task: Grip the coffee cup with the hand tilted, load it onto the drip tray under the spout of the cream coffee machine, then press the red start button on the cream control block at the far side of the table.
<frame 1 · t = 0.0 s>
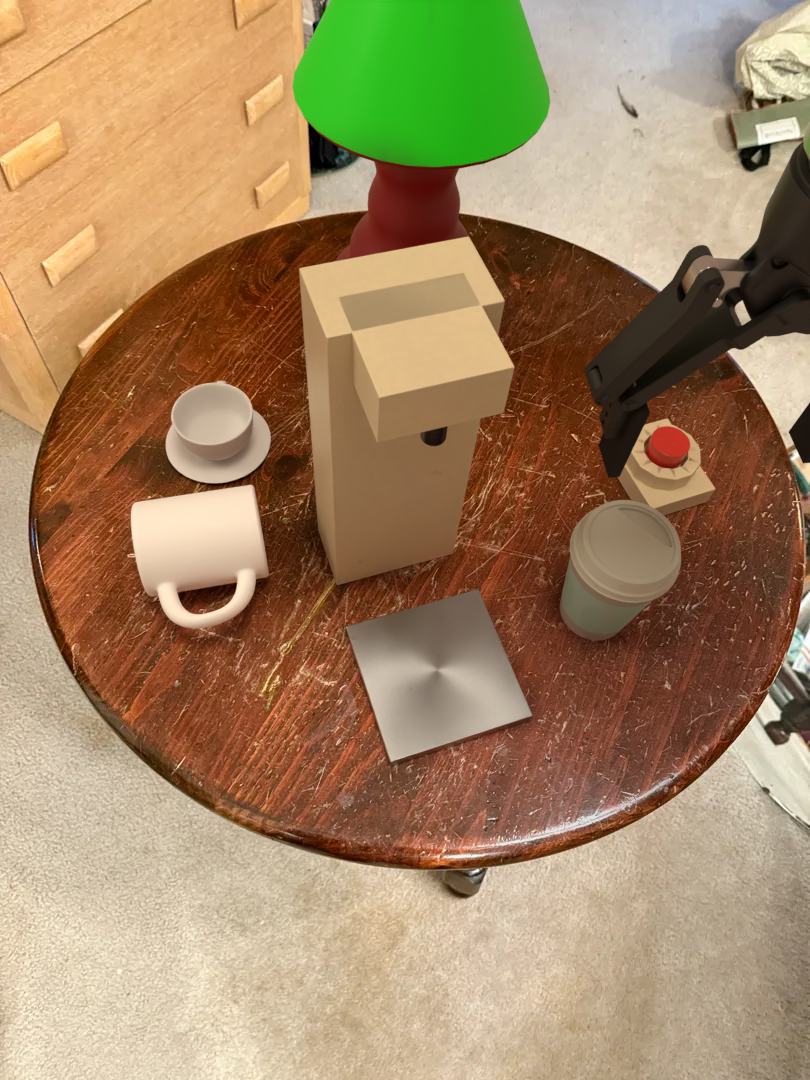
hand: (705, 454, 55), 21 cm above the table, tool pointing down, fingers open, 13 cm apart
brew button: (667, 447, 76), point 4 cm above the table, slide at 0.1 cm
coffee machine: (435, 675, 68), on the table
mug: (212, 584, 71), on the table
table lamp: (403, 353, 87), on the table
coffee cup: (591, 611, 72), on the table
teacup: (219, 444, 79), on the table
control block: (652, 475, 80), on the table
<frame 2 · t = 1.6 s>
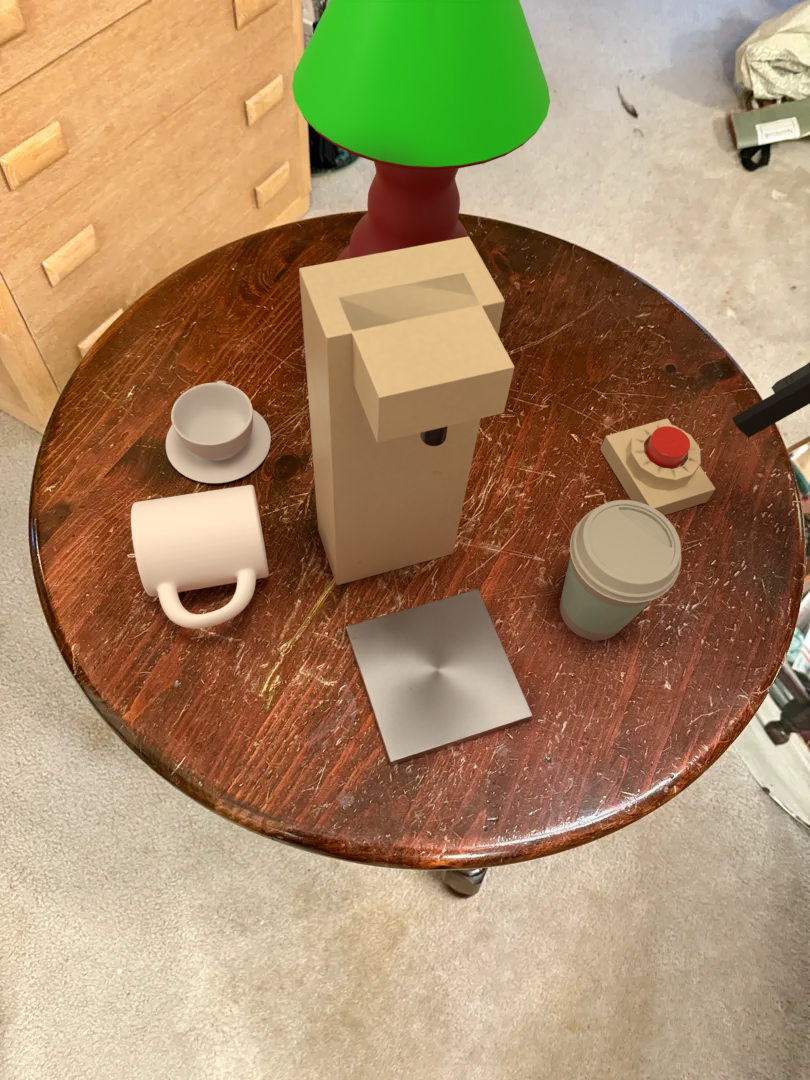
hand: (776, 499, 60), 15 cm above the table, tool tilted 45°, fingers open, 13 cm apart
nothing on the table moved.
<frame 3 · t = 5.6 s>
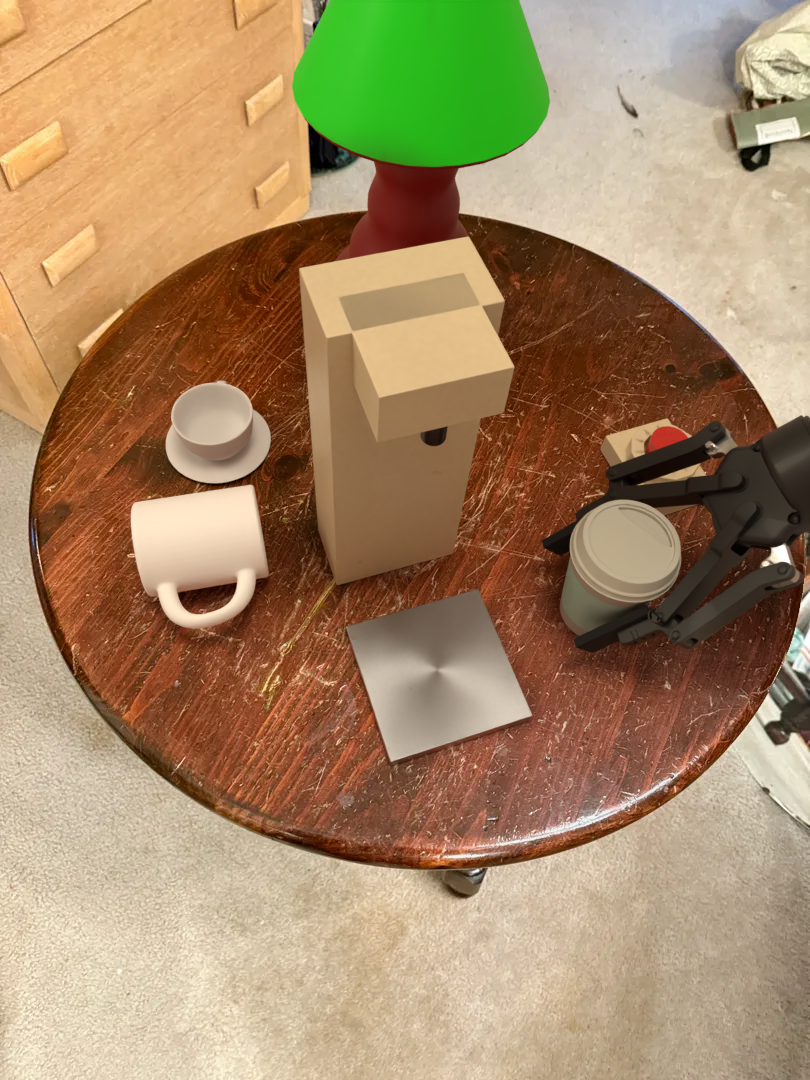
hand: (566, 595, 68), 4 cm above the table, tool tilted 45°, fingers closed on coffee cup, 8 cm apart
coffee cup: (591, 611, 72), on the table, touching gripper
everything else where it was.
when the fingers open (5 cm above the table, at t = 13.2 s): coffee cup stays where it is, resting on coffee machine.
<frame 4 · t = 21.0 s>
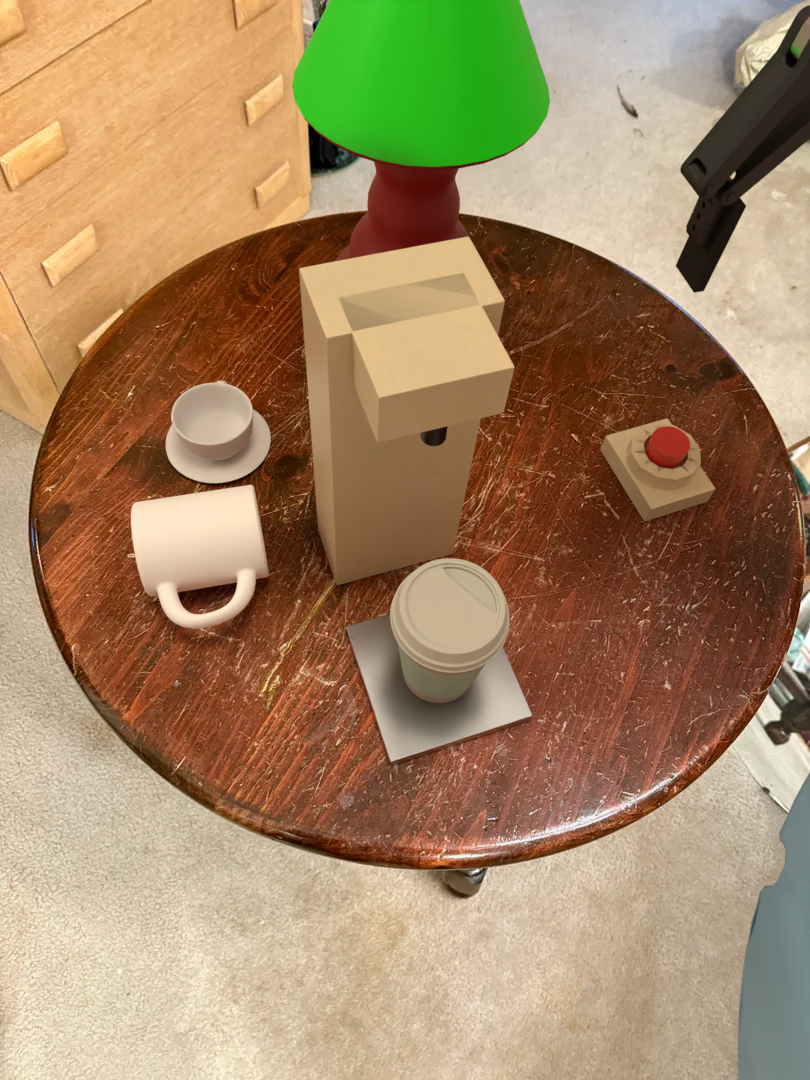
hand: (775, 265, 56), 27 cm above the table, tool pointing down, fingers open, 13 cm apart
coffee cup: (437, 670, 67), point 1 cm above the table, touching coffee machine
everything else where it was.
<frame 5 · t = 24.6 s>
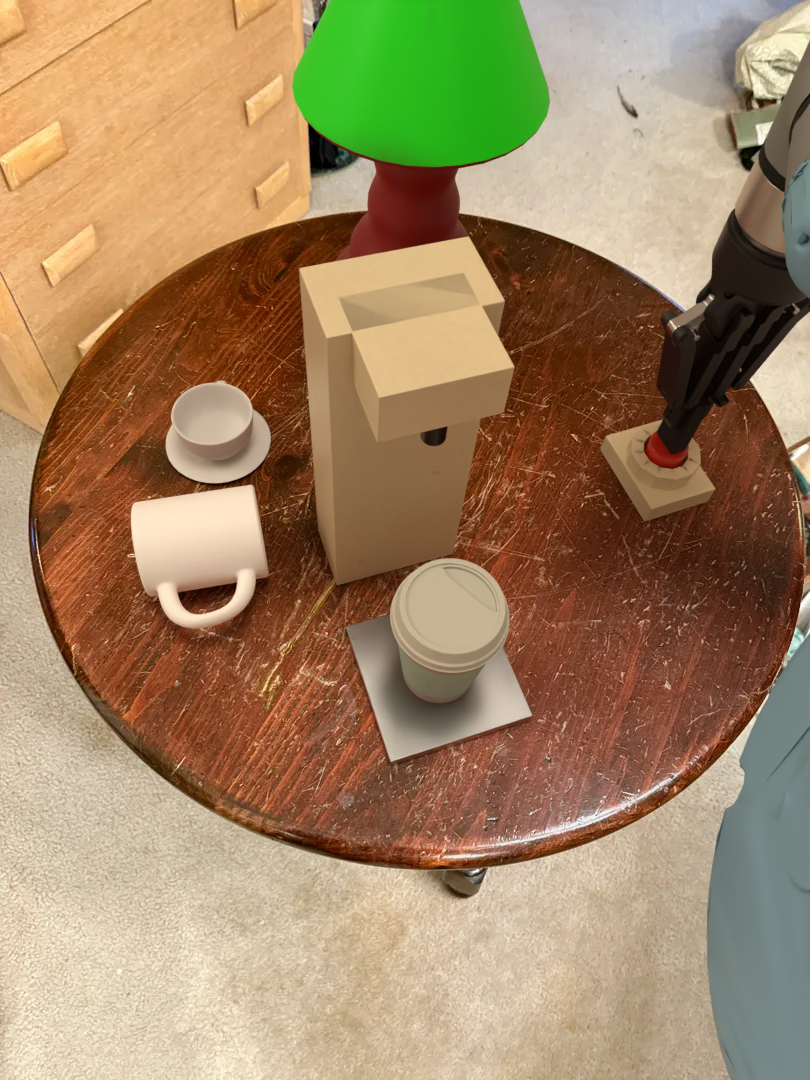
hand: (670, 441, 75), 5 cm above the table, tool pointing down, fingers closed
brew button: (666, 449, 76), point 4 cm above the table, slide at -0.3 cm, touching gripper
everything else where it was.
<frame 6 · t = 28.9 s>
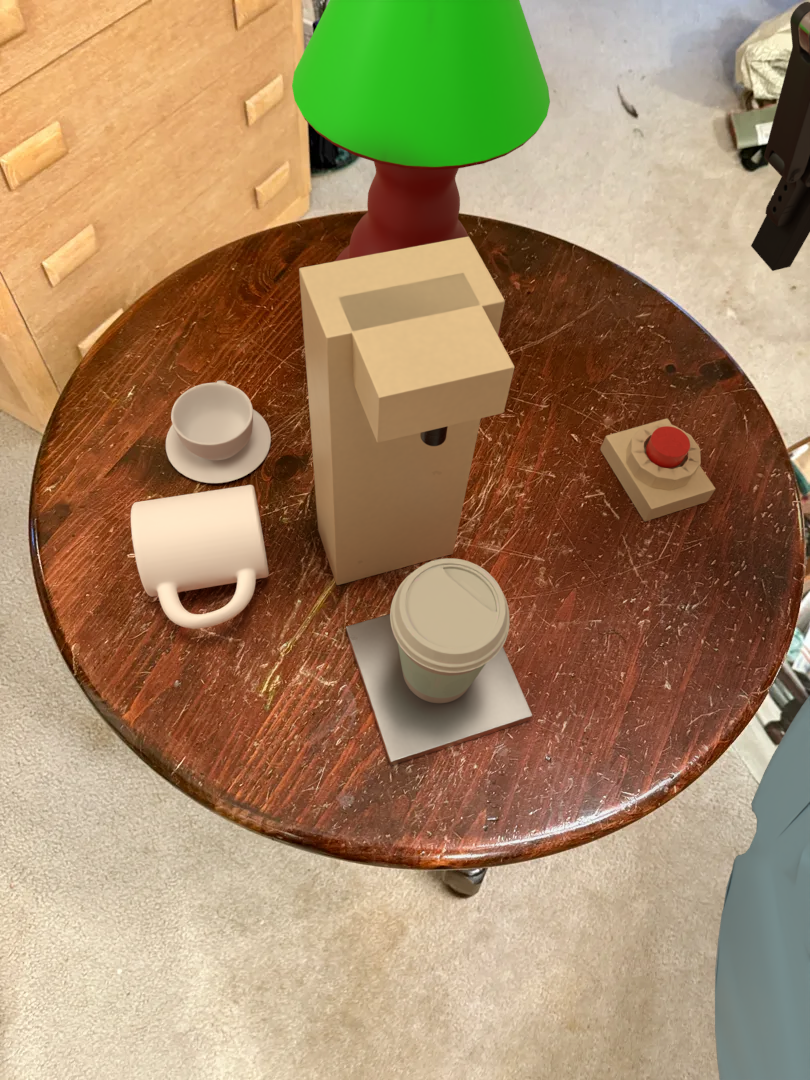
hand: (770, 255, 57), 26 cm above the table, tool pointing down, fingers closed
brew button: (667, 447, 76), point 4 cm above the table, slide at 0.1 cm
everything else where it was.
at the end: coffee cup inside the target area on the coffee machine (0.1 cm from its centre), point 1.0 cm above the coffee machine's base; coffee cup tilted 0°; brew button pushed in 1.0 cm at the most during the clip, back to where it started at the end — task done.
